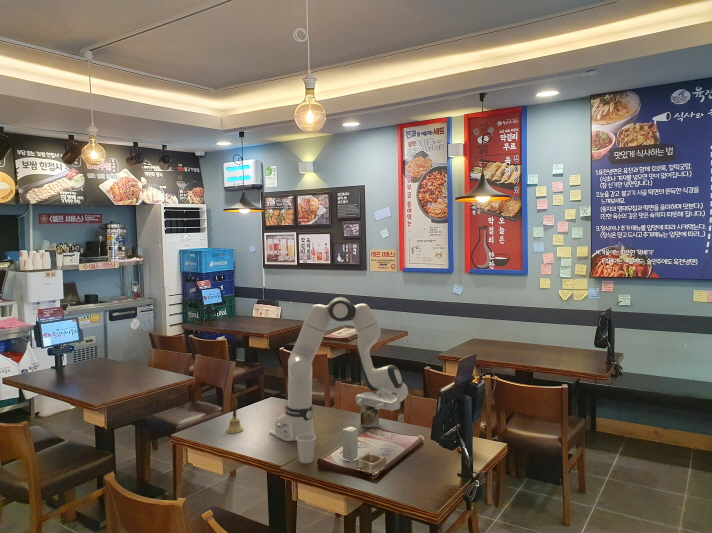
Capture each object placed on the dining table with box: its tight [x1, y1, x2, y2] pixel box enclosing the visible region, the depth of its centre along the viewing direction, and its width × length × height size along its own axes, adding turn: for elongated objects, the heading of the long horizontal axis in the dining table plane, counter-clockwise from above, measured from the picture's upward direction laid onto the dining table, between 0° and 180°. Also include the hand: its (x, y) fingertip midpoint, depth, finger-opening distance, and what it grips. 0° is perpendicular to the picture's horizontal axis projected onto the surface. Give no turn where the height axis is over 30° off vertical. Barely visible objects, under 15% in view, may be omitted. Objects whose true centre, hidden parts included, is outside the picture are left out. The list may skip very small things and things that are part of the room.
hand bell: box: [225, 397, 244, 434], centre depth 254 cm, size 8×8×16 cm
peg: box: [342, 426, 359, 462], centre depth 220 cm, size 4×4×13 cm
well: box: [356, 452, 387, 473], centre depth 210 cm, size 8×8×4 cm
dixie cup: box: [296, 434, 317, 464], centre depth 218 cm, size 8×8×10 cm
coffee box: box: [360, 391, 380, 428], centre depth 262 cm, size 9×6×16 cm
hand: (366, 405), depth 229 cm, fingers open, 8 cm apart
